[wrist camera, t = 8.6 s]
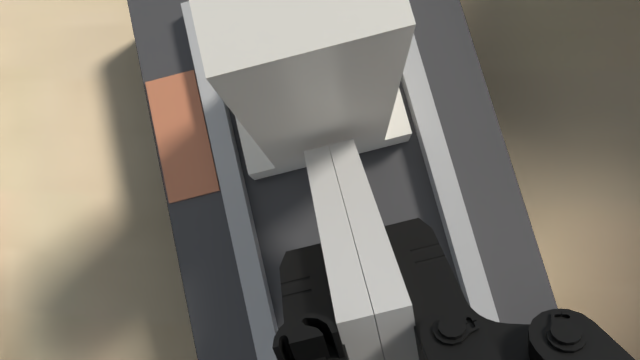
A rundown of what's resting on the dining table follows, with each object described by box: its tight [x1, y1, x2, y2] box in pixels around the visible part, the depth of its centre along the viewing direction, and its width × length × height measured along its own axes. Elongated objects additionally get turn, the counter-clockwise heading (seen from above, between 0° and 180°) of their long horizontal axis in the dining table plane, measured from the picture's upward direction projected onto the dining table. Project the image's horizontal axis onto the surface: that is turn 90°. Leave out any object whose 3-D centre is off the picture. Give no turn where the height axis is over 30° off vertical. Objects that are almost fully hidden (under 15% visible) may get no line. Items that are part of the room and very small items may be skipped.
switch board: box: [127, 0, 558, 360], centre depth 20 cm, size 13×28×4 cm, turn 14°
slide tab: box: [189, 0, 416, 180], centre depth 15 cm, size 6×4×10 cm, turn 104°
